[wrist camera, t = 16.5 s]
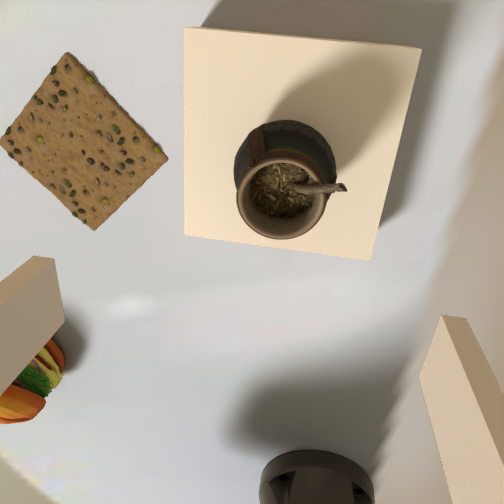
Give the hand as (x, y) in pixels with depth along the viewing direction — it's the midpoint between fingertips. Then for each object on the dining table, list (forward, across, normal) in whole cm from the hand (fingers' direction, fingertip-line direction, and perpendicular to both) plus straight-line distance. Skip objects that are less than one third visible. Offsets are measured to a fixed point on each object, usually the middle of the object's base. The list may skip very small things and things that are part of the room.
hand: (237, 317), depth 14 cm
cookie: (+25, +19, +3) cm, 32 cm away
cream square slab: (+25, 0, 0) cm, 25 cm away
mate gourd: (+20, 0, 0) cm, 20 cm away
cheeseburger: (+25, +29, +30) cm, 48 cm away
